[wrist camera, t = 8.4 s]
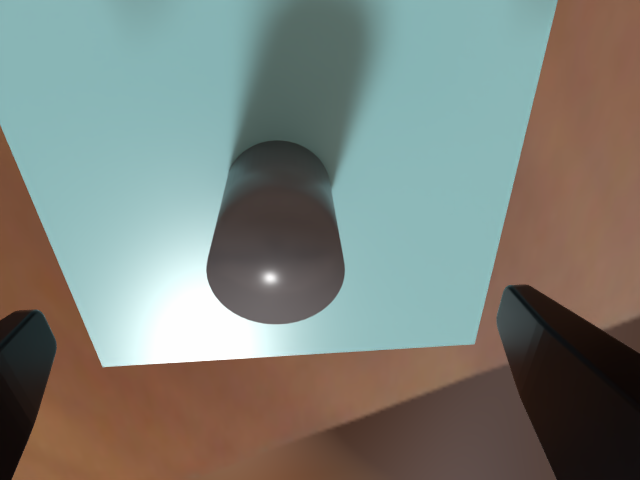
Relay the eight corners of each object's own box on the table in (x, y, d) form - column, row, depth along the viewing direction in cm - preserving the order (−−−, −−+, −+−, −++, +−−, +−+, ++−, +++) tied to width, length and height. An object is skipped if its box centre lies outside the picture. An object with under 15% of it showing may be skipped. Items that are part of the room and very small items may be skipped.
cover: (107, 354, 17) (57, 472, 13) (-78, -107, 10) (-322, -135, 6) (469, 332, 18) (518, 440, 14) (572, -119, 10) (746, -152, 6)
